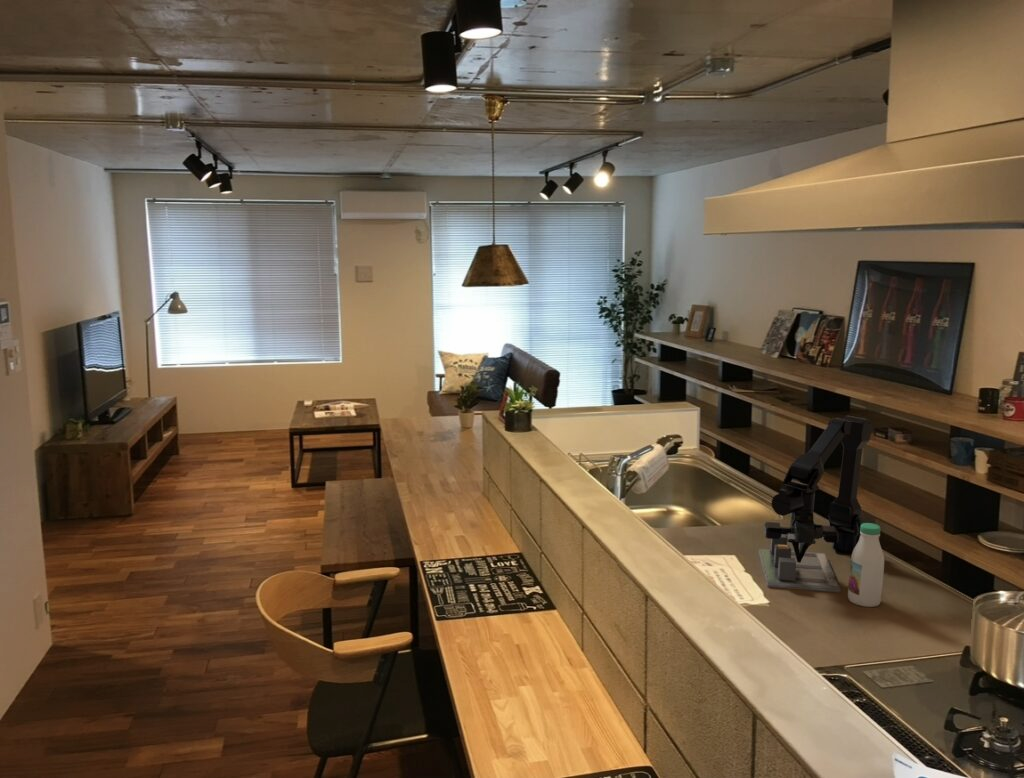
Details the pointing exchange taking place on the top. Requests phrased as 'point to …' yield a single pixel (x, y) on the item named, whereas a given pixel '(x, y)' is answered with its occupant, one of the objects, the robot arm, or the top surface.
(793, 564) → the block
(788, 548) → the breaker mid
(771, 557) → the panel
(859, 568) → the milk bottle
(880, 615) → the top surface
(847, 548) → the robot arm
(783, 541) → the block
